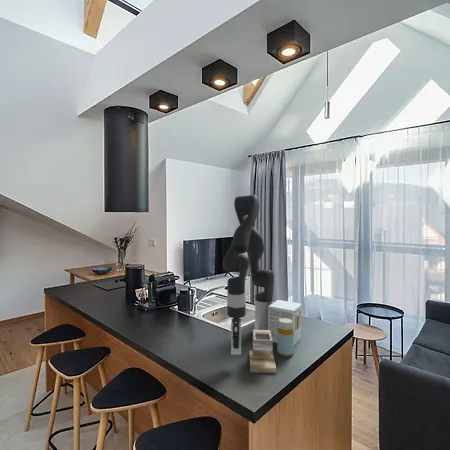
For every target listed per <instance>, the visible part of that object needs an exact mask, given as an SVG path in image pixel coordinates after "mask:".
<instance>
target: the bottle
mask: <svg viewBox="0 0 450 450" xmlns="http://www.w3.org/2000/svg"><path fill="white" fill-rule="evenodd" d="M294 347H295V346H294V331H293V320H291V319H289V318H280V319H279V328H278V343H277V348H276V349H277V354H278V355H279V356H281V357H285V358H289V357H292V356H293V355H294Z"/></svg>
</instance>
